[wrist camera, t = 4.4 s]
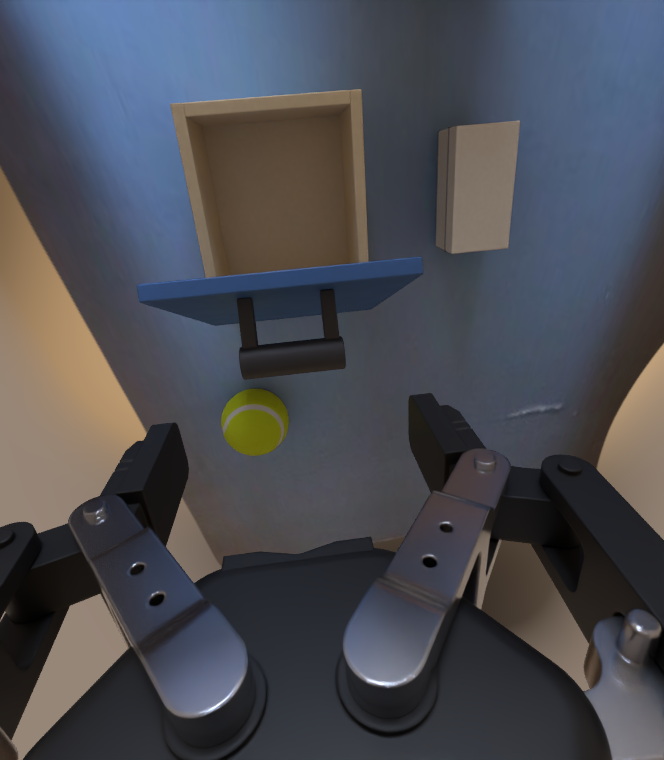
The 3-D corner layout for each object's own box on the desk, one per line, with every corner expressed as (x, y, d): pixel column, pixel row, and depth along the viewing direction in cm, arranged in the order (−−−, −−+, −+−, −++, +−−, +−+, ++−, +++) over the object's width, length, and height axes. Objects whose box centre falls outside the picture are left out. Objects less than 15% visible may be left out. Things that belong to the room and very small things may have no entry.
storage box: (192, 117, 35) (170, 103, 28) (347, 104, 35) (361, 88, 29) (225, 295, 41) (214, 319, 34) (357, 282, 42) (370, 302, 35)
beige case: (437, 130, 37) (456, 125, 33) (496, 125, 37) (521, 119, 33) (435, 246, 41) (450, 254, 37) (487, 241, 41) (508, 248, 37)
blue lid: (135, 284, 19) (150, 392, 19) (422, 255, 19) (432, 360, 20) (212, 315, 34) (220, 374, 34) (370, 299, 35) (376, 357, 35)
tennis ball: (237, 368, 44) (229, 399, 38) (298, 389, 46) (299, 422, 40) (217, 421, 47) (207, 458, 41) (275, 439, 48) (274, 477, 42)
